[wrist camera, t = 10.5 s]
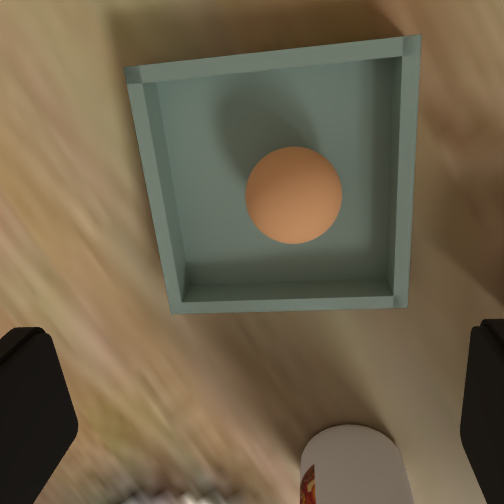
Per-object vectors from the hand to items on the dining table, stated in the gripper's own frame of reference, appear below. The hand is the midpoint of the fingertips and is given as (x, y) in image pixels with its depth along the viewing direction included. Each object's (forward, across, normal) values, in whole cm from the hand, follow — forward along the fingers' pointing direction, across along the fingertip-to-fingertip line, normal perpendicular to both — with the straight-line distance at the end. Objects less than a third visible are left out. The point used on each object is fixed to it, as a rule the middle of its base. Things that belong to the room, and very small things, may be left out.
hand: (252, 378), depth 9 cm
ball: (+14, 0, 0) cm, 14 cm away
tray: (+17, 0, 0) cm, 17 cm away
